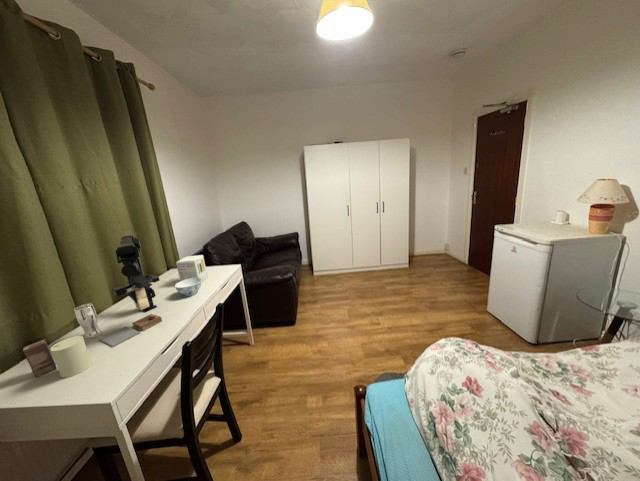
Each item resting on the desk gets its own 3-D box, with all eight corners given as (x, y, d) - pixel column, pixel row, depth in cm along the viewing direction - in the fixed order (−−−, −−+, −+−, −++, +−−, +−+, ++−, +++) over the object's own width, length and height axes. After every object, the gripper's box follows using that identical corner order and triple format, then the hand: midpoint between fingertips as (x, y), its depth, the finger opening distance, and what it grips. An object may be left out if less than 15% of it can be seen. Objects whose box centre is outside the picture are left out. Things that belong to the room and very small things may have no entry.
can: (67, 365, 101) (57, 339, 98) (96, 357, 105) (87, 331, 102) (55, 381, 93) (43, 353, 90) (86, 371, 96) (76, 344, 94)
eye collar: (133, 327, 126) (132, 322, 125) (152, 318, 133) (151, 313, 133) (143, 331, 121) (141, 326, 121) (162, 321, 129) (160, 316, 128)
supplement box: (199, 284, 174) (194, 260, 170) (181, 286, 175) (175, 262, 171) (208, 277, 187) (203, 254, 183) (191, 278, 188) (185, 256, 184)
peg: (136, 308, 125) (131, 290, 122) (145, 305, 128) (140, 286, 126) (141, 310, 123) (135, 291, 120) (149, 306, 126) (144, 287, 124)
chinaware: (208, 288, 166) (206, 277, 164) (193, 299, 152) (191, 287, 150) (188, 288, 169) (185, 278, 167) (172, 299, 154) (169, 287, 153)
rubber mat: (99, 340, 118) (98, 338, 117) (125, 327, 127) (125, 326, 127) (113, 347, 111) (113, 345, 111) (140, 333, 120) (140, 331, 120)
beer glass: (81, 341, 118) (70, 312, 115) (86, 333, 124) (76, 306, 121) (100, 335, 121) (90, 307, 118) (104, 328, 127) (95, 301, 124)
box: (56, 364, 103) (45, 338, 100) (57, 369, 100) (46, 342, 97) (34, 373, 98) (22, 346, 96) (34, 378, 96) (22, 351, 93)
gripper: (118, 280, 109) (128, 313, 113) (161, 265, 125) (169, 294, 128) (106, 277, 114) (116, 309, 118) (149, 264, 130) (157, 292, 134)
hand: (141, 300), depth 124 cm, fingers closed on peg, 4 cm apart
